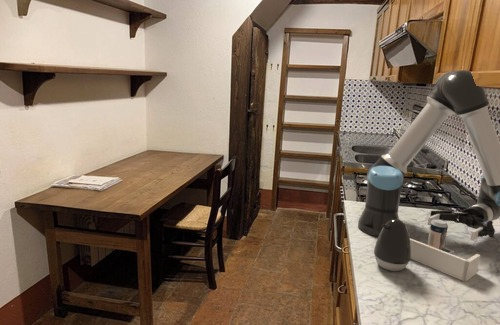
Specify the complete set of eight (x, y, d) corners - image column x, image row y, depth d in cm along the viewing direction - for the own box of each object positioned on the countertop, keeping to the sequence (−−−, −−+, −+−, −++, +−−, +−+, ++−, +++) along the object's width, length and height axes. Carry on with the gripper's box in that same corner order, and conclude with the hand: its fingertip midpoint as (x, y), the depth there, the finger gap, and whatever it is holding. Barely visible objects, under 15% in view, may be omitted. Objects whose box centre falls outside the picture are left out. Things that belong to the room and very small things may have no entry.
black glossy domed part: (364, 261, 110) (370, 215, 106) (390, 256, 114) (396, 211, 111) (389, 278, 101) (396, 228, 97) (416, 272, 105) (424, 223, 102)
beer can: (443, 261, 111) (449, 225, 108) (426, 258, 113) (432, 222, 110) (441, 254, 115) (447, 220, 113) (425, 251, 117) (430, 217, 114)
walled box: (465, 281, 101) (469, 262, 100) (388, 248, 119) (390, 232, 118) (480, 270, 108) (484, 252, 106) (405, 241, 126) (407, 225, 125)
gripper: (515, 238, 120) (490, 254, 108) (440, 214, 140) (411, 225, 127) (519, 217, 119) (495, 230, 106) (443, 196, 138) (414, 205, 125)
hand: (449, 228), depth 116 cm, fingers open, 13 cm apart
